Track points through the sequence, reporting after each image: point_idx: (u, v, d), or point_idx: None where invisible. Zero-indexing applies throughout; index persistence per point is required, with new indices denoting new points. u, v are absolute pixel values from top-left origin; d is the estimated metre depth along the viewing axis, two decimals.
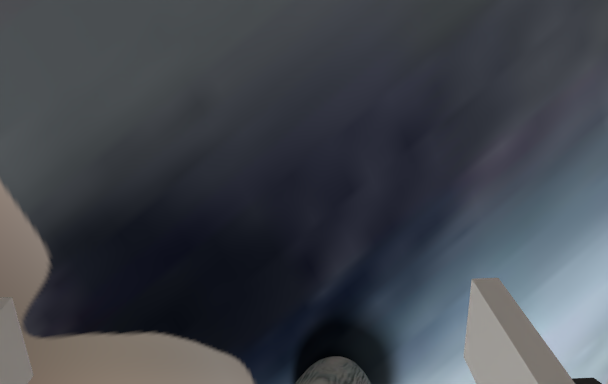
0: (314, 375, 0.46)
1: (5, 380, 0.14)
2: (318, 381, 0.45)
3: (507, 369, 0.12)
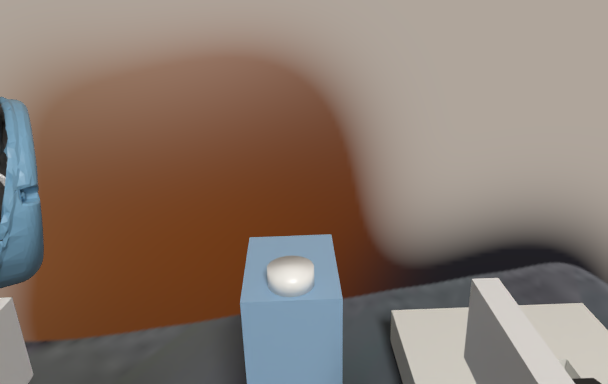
0: None
1: (5, 380, 0.14)
2: None
3: (507, 369, 0.12)
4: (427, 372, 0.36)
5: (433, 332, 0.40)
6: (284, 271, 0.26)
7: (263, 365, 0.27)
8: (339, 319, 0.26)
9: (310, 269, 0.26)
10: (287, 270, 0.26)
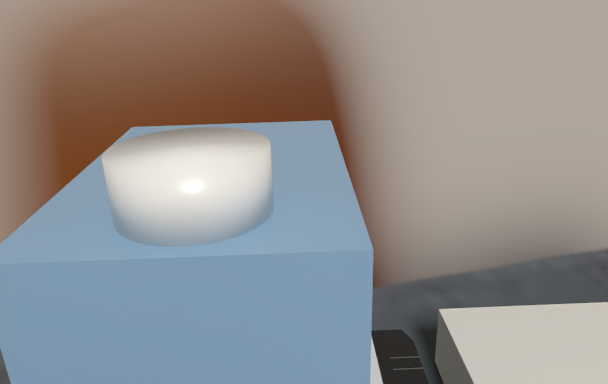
0: None
1: None
2: None
3: None
4: None
5: (523, 349, 0.21)
6: (161, 157, 0.07)
7: None
8: (360, 330, 0.07)
9: (255, 150, 0.07)
10: (174, 153, 0.07)
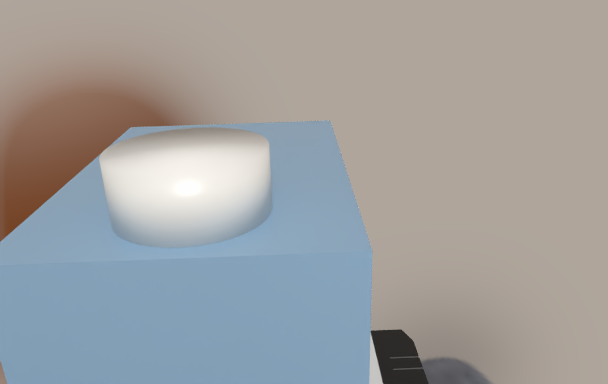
0: None
1: None
2: None
3: None
4: None
5: None
6: (159, 157, 0.07)
7: None
8: (359, 331, 0.07)
9: (254, 151, 0.07)
10: (172, 153, 0.07)
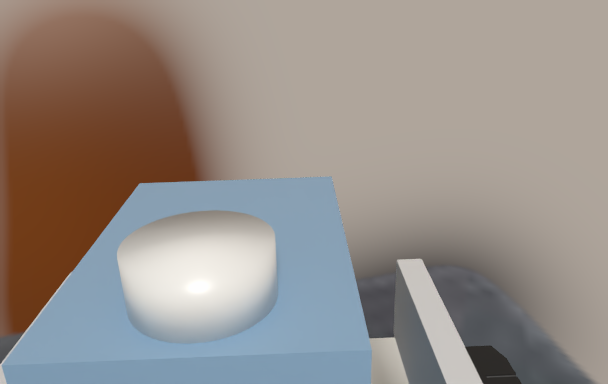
0: None
1: None
2: None
3: (416, 339, 0.13)
4: None
5: None
6: (173, 254, 0.08)
7: None
8: None
9: (261, 248, 0.08)
10: (184, 249, 0.08)
